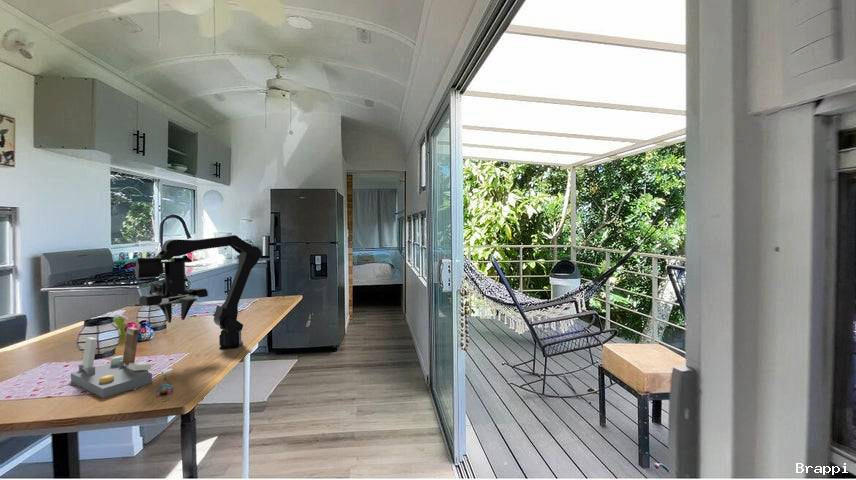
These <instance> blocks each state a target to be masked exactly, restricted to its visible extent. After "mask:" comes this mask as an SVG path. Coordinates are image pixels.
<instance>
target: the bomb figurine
mask: <svg viewBox="0 0 856 480" xmlns="http://www.w3.org/2000/svg"><path fill="white" fill-rule="evenodd" d="M162 380H163V381H164V382H163V384H161V385H160V386H159V387H158V388H157V390H156V391H157V393H156V395H155V397H156V398H160V397H161V396H162V395H163V394H166V395H167V396H170V395H171V394H172V390H173V389H174V387H173V385H171V384H169V383H167V378H166V374H163V377H162Z"/></svg>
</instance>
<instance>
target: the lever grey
mask: <svg viewBox="0 0 856 480" xmlns="http://www.w3.org/2000/svg"><path fill="white" fill-rule="evenodd" d="M97 341H98V339H97V338H95V337H92V336H90V337H86V338H85V343H84V345H85V346H84V350H83V358H82V363H81V364H82V366H84V368H86V369H87V368H89V367H93V366H94V362H95V357H96V350H97V349H96V348H97Z"/></svg>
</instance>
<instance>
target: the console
mask: <svg viewBox="0 0 856 480" xmlns="http://www.w3.org/2000/svg"><path fill="white" fill-rule="evenodd" d="M128 366H129V365H127V364H125V362H123V360H121V361H119V366H111V362H109V363H105V364H101V365H97V366H95V365H93V367H89V368H87V369H86V368H84V366H82V363H80V364H78V371H75V372H71V373H70V382H72V383H73V384H75V385H77V386H78V387H81V388H83V389H85V390H86V391H88V392H90V393H92V394H94V395H96V396H98V397H100V398H102V399H105V398H108V397H111V396H114V395H116V394H120V393H123V392H126V391H129V390H133V389H136V388H140V387H141V386H146V385H148V384H151V383H153V373H151V372H149V370H137V371H134V370H131V369H129V368H128Z"/></svg>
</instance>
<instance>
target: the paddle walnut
mask: <svg viewBox="0 0 856 480" xmlns="http://www.w3.org/2000/svg"><path fill="white" fill-rule="evenodd" d="M139 332H140V329H139V328H136V327H134V326H133V327H127V328H126V335H125V343H124V349H123V351H124V352H123V362H125V364H127V365H129V363H136V362H135V360H136V356H137V355H136V354H137V346H138V341H139V340H138V339H139V334H140V333H139Z"/></svg>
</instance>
